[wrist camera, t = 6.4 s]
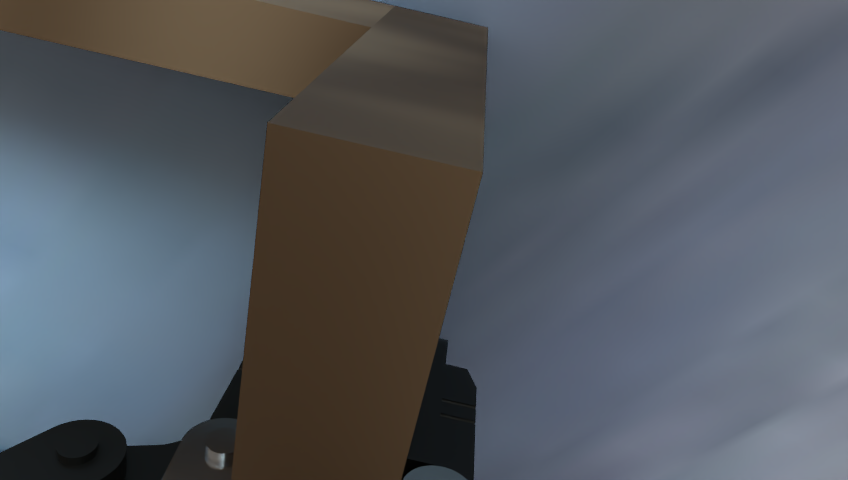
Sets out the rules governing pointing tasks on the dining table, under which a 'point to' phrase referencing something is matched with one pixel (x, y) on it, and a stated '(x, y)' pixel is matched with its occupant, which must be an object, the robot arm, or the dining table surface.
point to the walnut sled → (327, 204)
